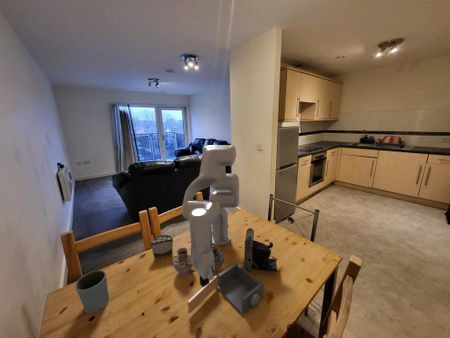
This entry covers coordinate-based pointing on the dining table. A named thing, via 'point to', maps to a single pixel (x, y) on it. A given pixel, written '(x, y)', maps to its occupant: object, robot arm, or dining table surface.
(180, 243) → the dining table surface
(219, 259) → the pottery
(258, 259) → the vintage camera
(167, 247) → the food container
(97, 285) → the grey green cup
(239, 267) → the grey open drawer box
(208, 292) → the door
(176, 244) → the dining table surface
